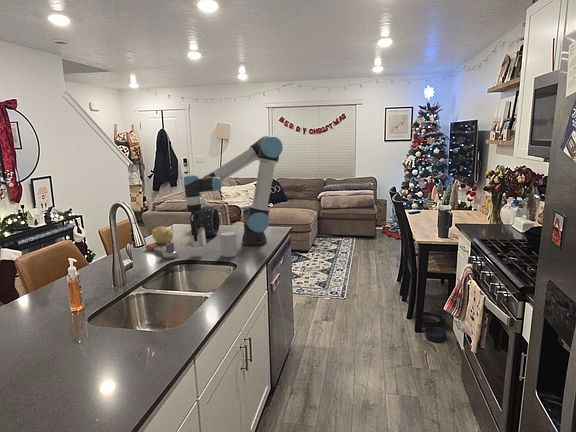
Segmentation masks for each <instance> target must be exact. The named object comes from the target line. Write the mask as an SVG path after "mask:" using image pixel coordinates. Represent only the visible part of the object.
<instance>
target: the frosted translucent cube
mask: <svg viewBox="0 0 576 432" xmlns="http://www.w3.org/2000/svg"><path fill="white" fill-rule="evenodd" d="M197 231H198V237H199V245H200V248H201V247H205V245H206V244H207V239H206V236H205V230H204V228H197ZM191 234H192V233H191V229H190V230H189V237H190V244H191V246H190V247H191V248H195V247H194V239H193V236H191Z"/></svg>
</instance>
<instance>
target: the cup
mask: <svg viewBox="0 0 576 432" xmlns="http://www.w3.org/2000/svg"><path fill="white" fill-rule="evenodd" d="M236 235H237V234H236V232H234V231H226V232H222V233H220V245H221V256H222V257H225V258H230V257H231V258H232V257H236V256H237V255H238V252H237V251H238V250H237V249H238V248H237V236H236Z"/></svg>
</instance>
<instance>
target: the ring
mask: <svg viewBox="0 0 576 432" xmlns="http://www.w3.org/2000/svg"><path fill="white" fill-rule="evenodd" d="M199 212H200V218H201V225H202V228H204V230H205V237H214V236H215V235H217V234H218V233H219V231H220V226H221V225H220V214H219V213H220V212H219V210H218V208H216V207H215V206H212V205H211V206H205V207H202V208H201V211H199Z"/></svg>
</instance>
